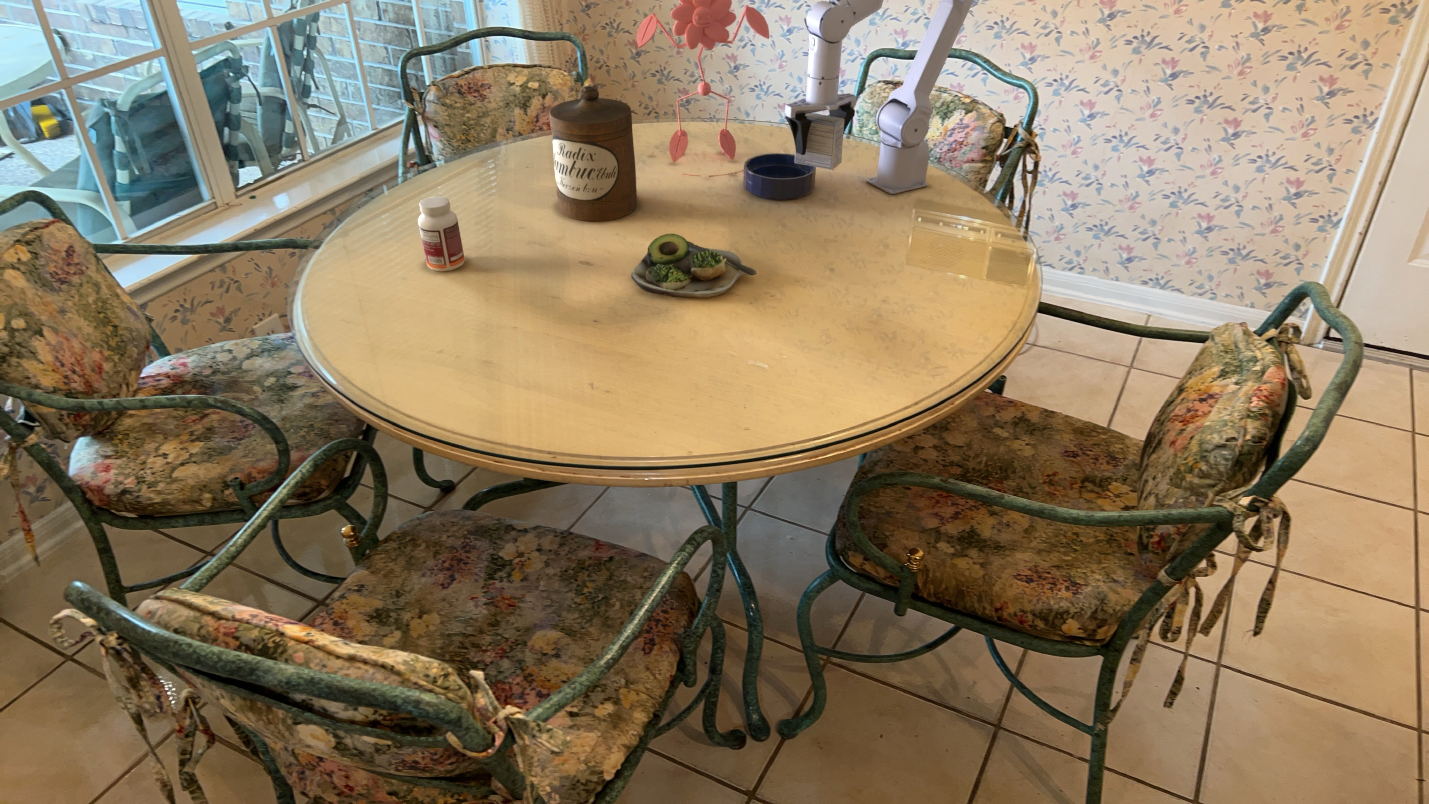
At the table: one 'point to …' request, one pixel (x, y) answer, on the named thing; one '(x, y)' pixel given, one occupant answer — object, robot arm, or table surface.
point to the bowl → (778, 177)
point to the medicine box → (823, 142)
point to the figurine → (705, 25)
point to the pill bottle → (440, 234)
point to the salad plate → (687, 269)
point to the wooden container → (594, 157)
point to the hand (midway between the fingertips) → (817, 149)
